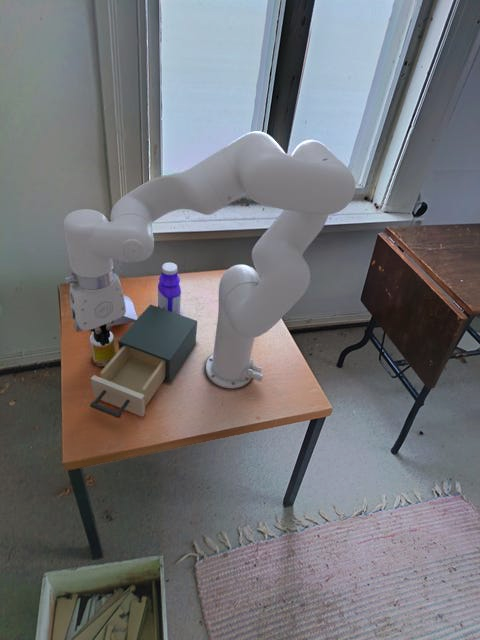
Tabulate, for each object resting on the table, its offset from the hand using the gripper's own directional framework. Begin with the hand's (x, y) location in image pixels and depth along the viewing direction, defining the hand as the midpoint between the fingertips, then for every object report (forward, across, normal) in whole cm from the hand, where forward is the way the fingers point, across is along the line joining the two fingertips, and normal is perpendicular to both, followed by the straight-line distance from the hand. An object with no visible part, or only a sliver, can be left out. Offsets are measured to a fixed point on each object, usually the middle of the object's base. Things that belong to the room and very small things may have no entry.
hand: (102, 340), depth 90 cm
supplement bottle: (+14, +3, +7) cm, 16 cm away
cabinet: (+14, +15, +1) cm, 21 cm away
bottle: (+14, +26, +12) cm, 32 cm away
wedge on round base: (+14, +13, +19) cm, 27 cm away
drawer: (+13, +2, -6) cm, 15 cm away
